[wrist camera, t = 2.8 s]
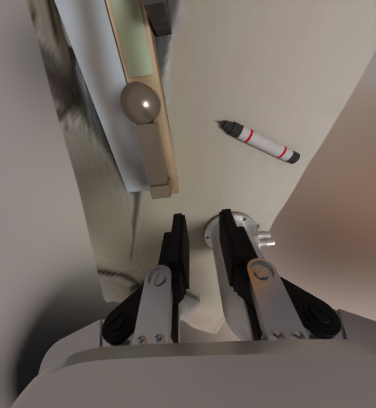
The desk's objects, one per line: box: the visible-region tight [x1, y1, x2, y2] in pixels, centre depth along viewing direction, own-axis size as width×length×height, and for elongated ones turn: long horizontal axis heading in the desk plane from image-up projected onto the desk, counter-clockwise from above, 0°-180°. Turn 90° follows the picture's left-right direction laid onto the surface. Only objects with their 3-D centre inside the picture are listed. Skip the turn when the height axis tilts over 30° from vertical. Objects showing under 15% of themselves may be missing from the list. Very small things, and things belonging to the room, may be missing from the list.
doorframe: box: [54, 0, 179, 194], centre depth 20 cm, size 12×28×7 cm, turn 7°
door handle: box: [120, 81, 173, 199], centre depth 21 cm, size 14×4×4 cm, turn 7°
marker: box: [219, 121, 300, 164], centre depth 25 cm, size 15×2×2 cm, turn 68°
